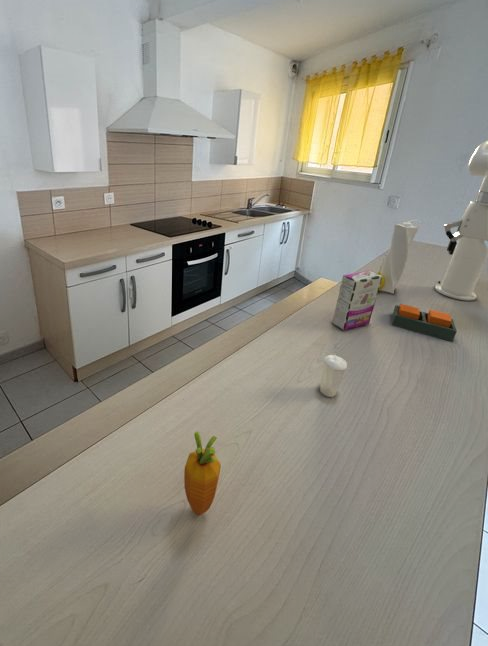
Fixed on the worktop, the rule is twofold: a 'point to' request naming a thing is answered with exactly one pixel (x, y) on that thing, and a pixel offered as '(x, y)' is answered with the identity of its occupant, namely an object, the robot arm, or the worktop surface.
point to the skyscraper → (397, 255)
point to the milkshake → (332, 374)
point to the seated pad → (408, 311)
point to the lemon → (381, 281)
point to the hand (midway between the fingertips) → (470, 256)
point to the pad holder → (424, 325)
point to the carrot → (201, 476)
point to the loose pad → (439, 318)
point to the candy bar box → (356, 299)
